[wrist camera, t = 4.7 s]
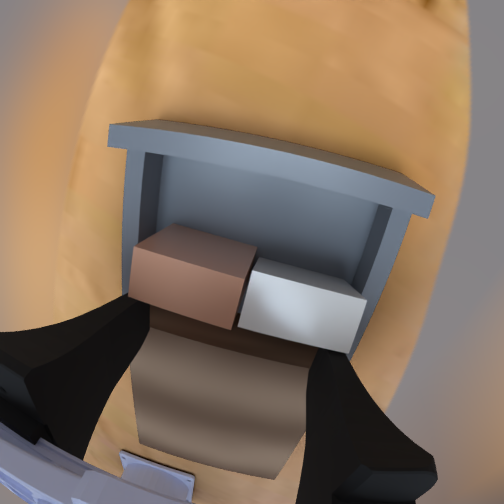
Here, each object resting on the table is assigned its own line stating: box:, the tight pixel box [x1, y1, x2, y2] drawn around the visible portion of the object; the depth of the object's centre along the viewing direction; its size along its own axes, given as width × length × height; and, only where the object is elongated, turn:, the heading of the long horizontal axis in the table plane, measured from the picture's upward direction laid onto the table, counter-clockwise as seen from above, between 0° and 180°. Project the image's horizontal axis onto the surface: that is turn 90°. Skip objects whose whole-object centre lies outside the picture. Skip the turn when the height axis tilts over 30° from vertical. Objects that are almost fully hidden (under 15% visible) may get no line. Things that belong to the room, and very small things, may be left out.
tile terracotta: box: [128, 223, 257, 330], centre depth 13 cm, size 4×4×2 cm
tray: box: [107, 119, 435, 361], centre depth 13 cm, size 8×11×4 cm
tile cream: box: [238, 257, 367, 354], centre depth 13 cm, size 4×4×2 cm
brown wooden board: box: [130, 304, 319, 480], centre depth 18 cm, size 12×10×3 cm
